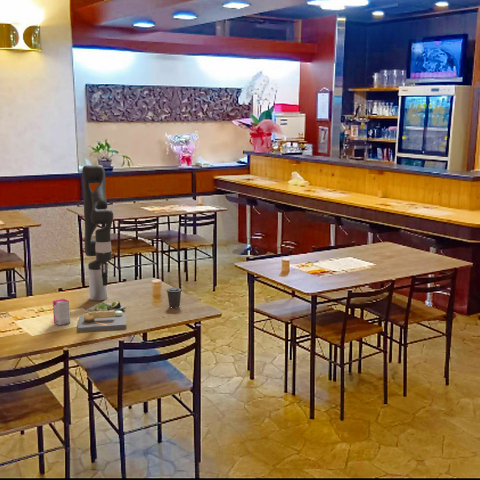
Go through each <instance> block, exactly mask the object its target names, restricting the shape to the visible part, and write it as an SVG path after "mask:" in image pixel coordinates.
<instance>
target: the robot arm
mask: <svg viewBox="0 0 480 480" xmlns="http://www.w3.org/2000/svg"><path fill="white" fill-rule="evenodd" d="M81 173H82V174H81V175H82V187H83V218H84V254H85V256H87V257H95V260H92V261H90V262H88V265H87V269H88V284H89V285H88V287H89V299H90V300H91V301H96V302H97V301H98V302H99V301H104V300H107V298H108V290H107V287H108V274H109V261H112V259H113V253H112V242H111V228H112V224H113V220H114V212H113V211H112V209H110V208H108V201H107V200H108V199H107V196H106V195H107V194H106V192H107V191H106V170H105V168H104V166H103V165H102V164H101V165H100V164H91V165H90V164H88V165H87V164H86V165H83V167H82V169H81ZM90 184H97V186H96V187H95V189H94V190H92V188H91V186H90ZM99 225H105V226H103V227H101V228H97V227H98V226H99ZM96 228H97V229H96ZM94 232H95V233H94ZM93 233H94V237H95V238H92V236H93Z"/></svg>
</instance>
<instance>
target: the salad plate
mask: <svg viewBox="0 0 480 480" xmlns="http://www.w3.org/2000/svg"><path fill="white" fill-rule="evenodd" d="M126 308H127V307H126V306H125V307H124V305H121V303H120V301H119V300H115V301H113V302H112V303H107V302H106V303H105V302H100V303H97V304H95V305H93V306H91V307H89V308H87V309H86V313H89V312H95V311H111V310H115V312H116V311H122V312H123V311H124V310H125V309H126Z"/></svg>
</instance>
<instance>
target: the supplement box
mask: <svg viewBox="0 0 480 480" xmlns="http://www.w3.org/2000/svg"><path fill="white" fill-rule="evenodd" d="M52 308H53V309H52V311H53V313H52V314H53V324H54V325H56V326H58V327H62V326H66V325H70V323H71V317H70V314H71V313H70V300H67V299H65V298H59V299H56V300H53V301H52Z"/></svg>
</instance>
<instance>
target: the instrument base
mask: <svg viewBox="0 0 480 480" xmlns="http://www.w3.org/2000/svg"><path fill="white" fill-rule="evenodd" d="M77 325H78V326H77V329H78V330H77V332H78V333H82V332H83V333H84V332H85V333H87V332H99V331H100V332H101V331H110V330H111V331H112V330H123V329H126V330H127V319H126V313H125V312H123V310H122V311H116V312H115V317H111V318H96V319H95V321H93V322H85V321H84V315H79V316H78V323H77Z"/></svg>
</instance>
